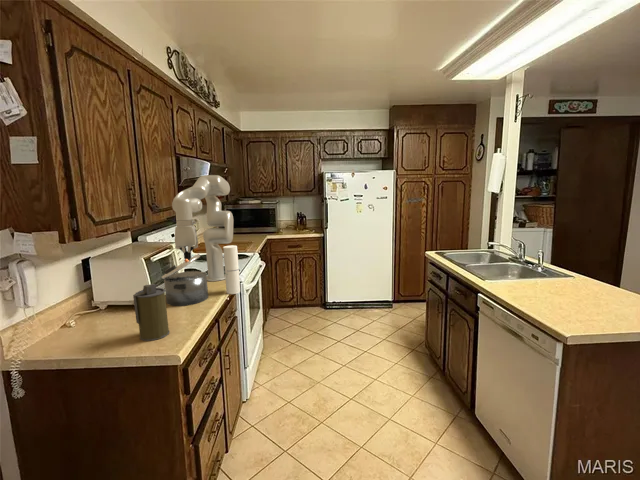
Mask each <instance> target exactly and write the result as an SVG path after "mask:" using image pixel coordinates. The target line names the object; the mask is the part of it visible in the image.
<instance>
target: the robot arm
mask: <svg viewBox="0 0 640 480" xmlns="http://www.w3.org/2000/svg"><path fill="white" fill-rule="evenodd" d="M230 191H231V187H230V184H229V182H228V181H227V180H226V179H225V178H223V177H222V176H220V175H219V174H217V175H215V174H214V175H213V174H210V175H207V174H206V175H201V176H199V177H198V178H197V180H195V183H194V184H193V185H192V186H191V187H187V188H186V189H183V190H181V191H180V192H179V193H177V194H176V196H174V198H173V199H172V203H171V204H172V205H171V207H172V210H173V211H174V212H175V220H176V226H175V228H174V244H175V248H174V249H175V250H180V251H181V252H182V253H183V259H184V260H185V259H186V258H187V259H188V260H190V259H191V258H192V251H193V250H194V249H198V248H199V239H198V233H197V229H196V226H195V224H197V221H196V220H194V218H193V213H199V212H200V211H201V210H202V209H203V202H202V201H201V200H204V199H205V201H206V224H207V225H208V226H209V228H207V229H205V230H204V231H203V234H202V237H203V240H204V241H203V242H204V245H205V253H206V265H207V282H217V281H218V282H219V281H223V280H226V278H225V265H224V251H223V248H222V247H221V246H220V245H221V244H222V245H223V244H231V243H232V242H233V239H234V216H233V213H232V211H230V210H222V202H221V200H220V199H219V198H218V197H217V196H227V195H229V194H230ZM210 227H211V228H210Z"/></svg>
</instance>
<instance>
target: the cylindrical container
mask: <svg viewBox="0 0 640 480" xmlns="http://www.w3.org/2000/svg"><path fill="white" fill-rule="evenodd" d="M222 252H223V265H224V275H225V278H226V279H225V288H226V289H225V291H226V294H228V295H235V294H239V293H241V283H240V282H241V281H240V271H239V256H238V255H239V254H238V246H237V245H226V246H223V247H222Z"/></svg>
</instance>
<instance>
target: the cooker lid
mask: <svg viewBox="0 0 640 480" xmlns="http://www.w3.org/2000/svg"><path fill="white" fill-rule="evenodd" d="M200 257H201V255H200V253H197V254H196V255H194V256H191V259H190V260H188V259H187V258H186V259H184V260H183V261H184V262H182V263H180V264H179V265H177V266H176V265H175V264H174V265H172V266H170V267H169V268H167V269H166V270H164V271H163V272H164V274H163V275H162V276H161V279H163V280H164V279H165V278H167V277H169V276H171V275H172V274H176V273H179V271H181V270H183V269H184V268H186V267H187V266H189V265H190V264H192V263H194V262H195V261H196V260H198V259H199V258H200Z"/></svg>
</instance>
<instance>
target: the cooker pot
mask: <svg viewBox="0 0 640 480" xmlns="http://www.w3.org/2000/svg"><path fill="white" fill-rule="evenodd" d="M207 276H208V274H207V273H206V272H204V271H199V270H196V271H183V272H176V273H174V274H172V275H171V276H169V277H167V278H165V279H163V281H164V282H163V283H164V289H165V300H166V305H169V306H172V307H185V306H192V305H197V304H199V303H202V302H205V301H206V300H208V299H209V289H208V281H207Z"/></svg>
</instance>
